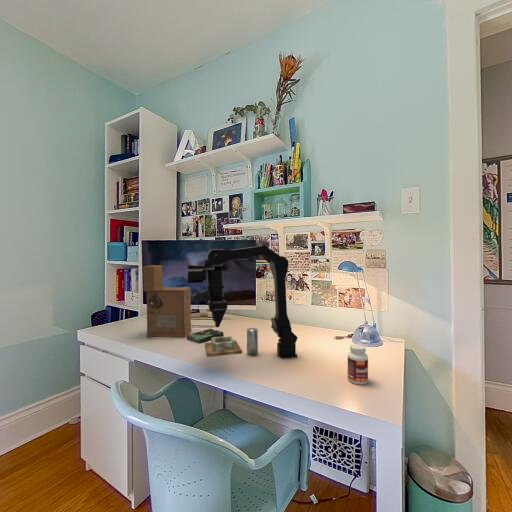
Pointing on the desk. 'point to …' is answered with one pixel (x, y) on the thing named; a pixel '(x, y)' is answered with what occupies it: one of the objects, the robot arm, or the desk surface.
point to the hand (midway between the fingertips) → (216, 324)
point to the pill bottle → (357, 364)
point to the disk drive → (204, 336)
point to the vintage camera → (166, 306)
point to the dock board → (222, 346)
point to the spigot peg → (252, 341)
